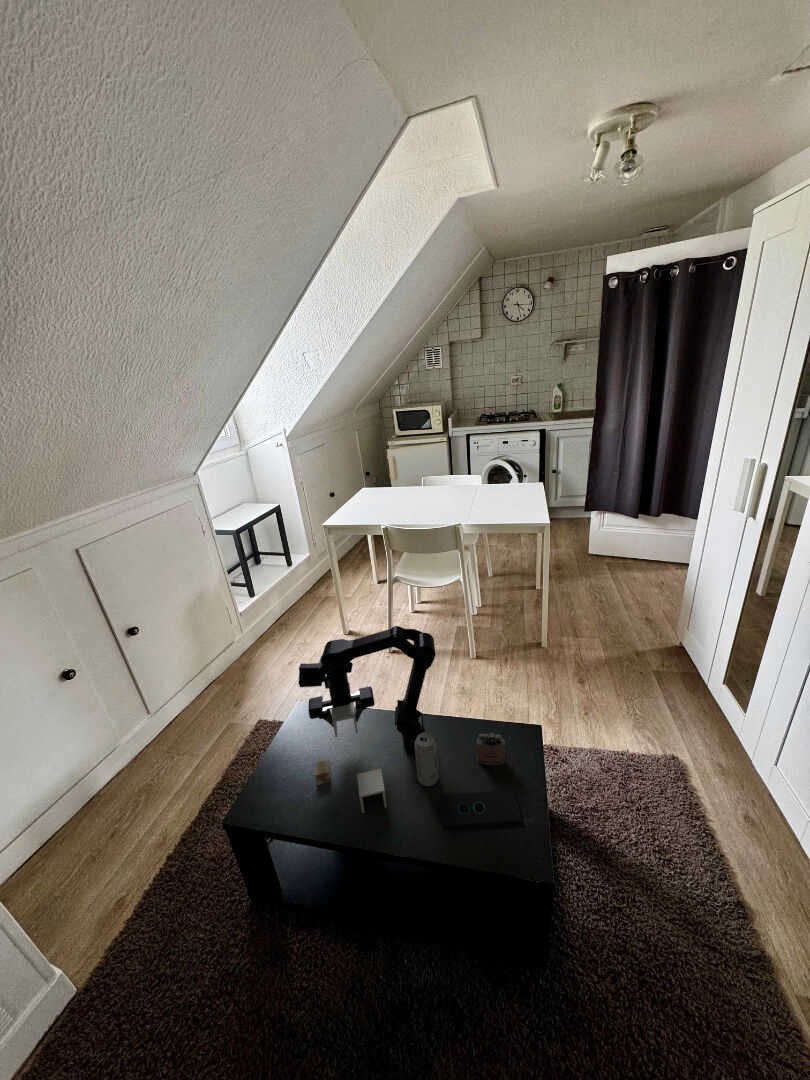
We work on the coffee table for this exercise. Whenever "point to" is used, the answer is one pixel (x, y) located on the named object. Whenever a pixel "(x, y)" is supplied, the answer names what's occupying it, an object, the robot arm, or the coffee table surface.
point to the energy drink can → (426, 759)
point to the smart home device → (479, 809)
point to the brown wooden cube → (322, 772)
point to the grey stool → (370, 785)
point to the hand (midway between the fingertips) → (345, 723)
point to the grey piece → (343, 715)
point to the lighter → (490, 749)
